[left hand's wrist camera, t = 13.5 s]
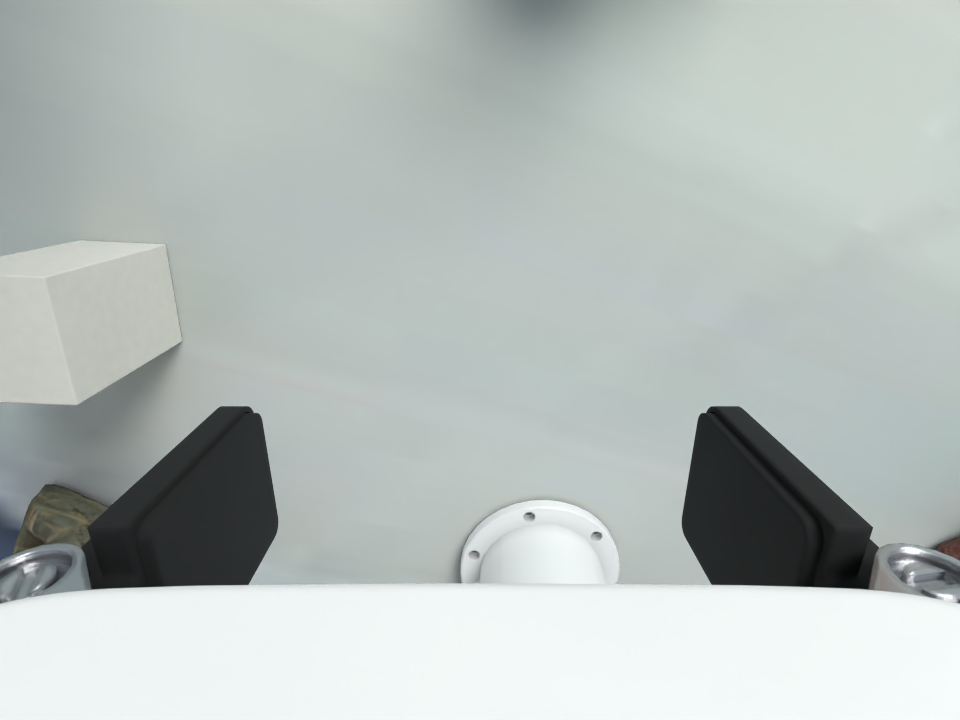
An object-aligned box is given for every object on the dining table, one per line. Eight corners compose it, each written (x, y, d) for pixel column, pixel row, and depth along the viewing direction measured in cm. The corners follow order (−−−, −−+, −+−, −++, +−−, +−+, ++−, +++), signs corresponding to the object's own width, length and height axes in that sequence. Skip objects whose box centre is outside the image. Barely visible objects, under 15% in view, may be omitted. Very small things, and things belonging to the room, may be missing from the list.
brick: (166, 244, 33) (43, 277, 23) (182, 341, 35) (77, 406, 26) (79, 240, 32) (-78, 271, 23) (101, 337, 35) (-33, 401, 26)
